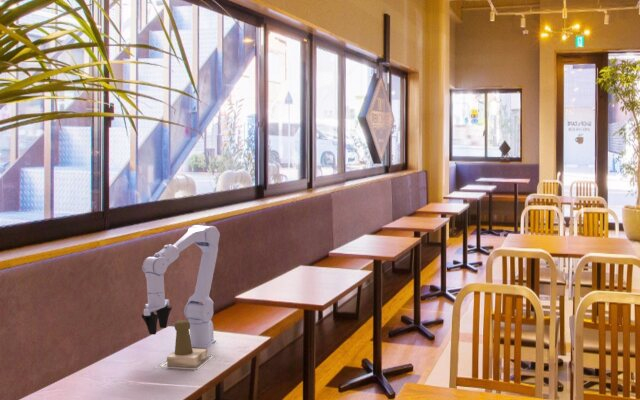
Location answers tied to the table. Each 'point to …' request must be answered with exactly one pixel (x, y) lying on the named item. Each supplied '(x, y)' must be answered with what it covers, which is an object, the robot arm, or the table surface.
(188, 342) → the cork
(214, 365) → the table surface
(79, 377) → the table surface
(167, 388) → the table surface
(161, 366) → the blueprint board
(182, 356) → the birch block
